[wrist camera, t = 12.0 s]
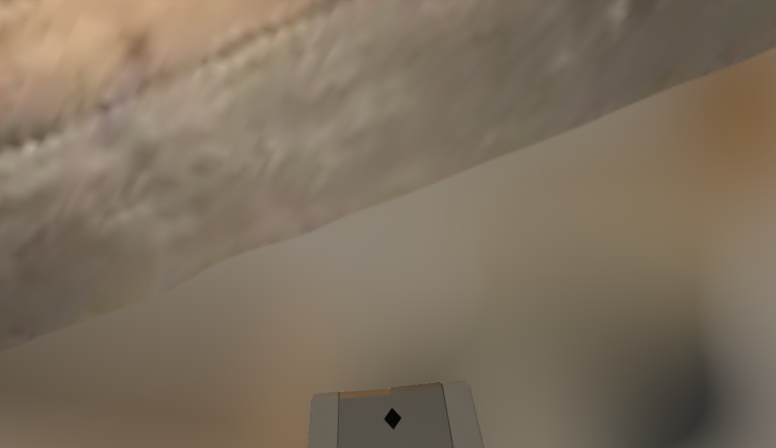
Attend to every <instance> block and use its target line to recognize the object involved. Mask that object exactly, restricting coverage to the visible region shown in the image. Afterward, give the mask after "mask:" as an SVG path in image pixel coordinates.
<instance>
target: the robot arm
mask: <svg viewBox="0 0 776 448" xmlns="http://www.w3.org/2000/svg"><path fill="white" fill-rule="evenodd" d="M308 448H484V444H483V440H482V436H481V431H480V427H479V423H478V419H477V414H476V410H475V406H474V401H473V397H472V393H471V389H470V385H469V384H468V382H467V381H466V380H464V381H456V382H445V383H440V382H438V383H428V384H418V385H409V386H400V387H391V388H389V389H374V390H361V391H360V390H359V391H344V392H330V393H319V394H314V395H313V398H312V401H311V411H310V424H309V437H308Z"/></svg>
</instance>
